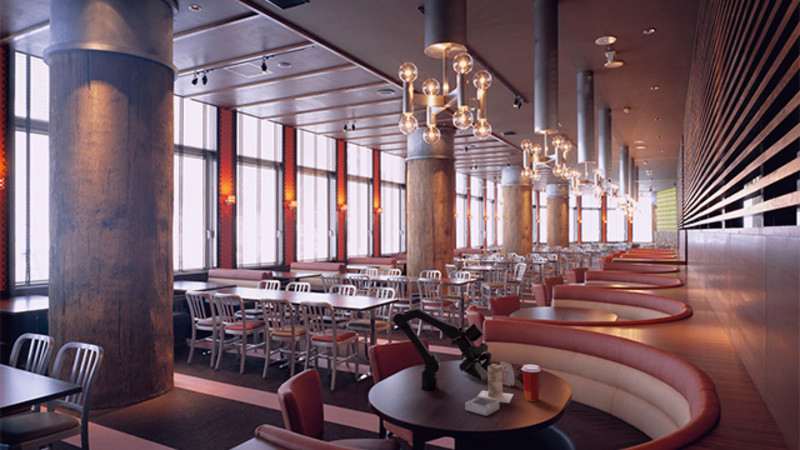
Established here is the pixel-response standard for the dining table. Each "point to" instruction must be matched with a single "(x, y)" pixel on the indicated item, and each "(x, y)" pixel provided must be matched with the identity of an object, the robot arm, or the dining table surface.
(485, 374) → the coffee mug
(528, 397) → the paper cup
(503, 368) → the white printed carton
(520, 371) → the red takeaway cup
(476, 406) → the socket
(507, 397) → the tile
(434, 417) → the dining table surface
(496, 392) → the wooden peg
